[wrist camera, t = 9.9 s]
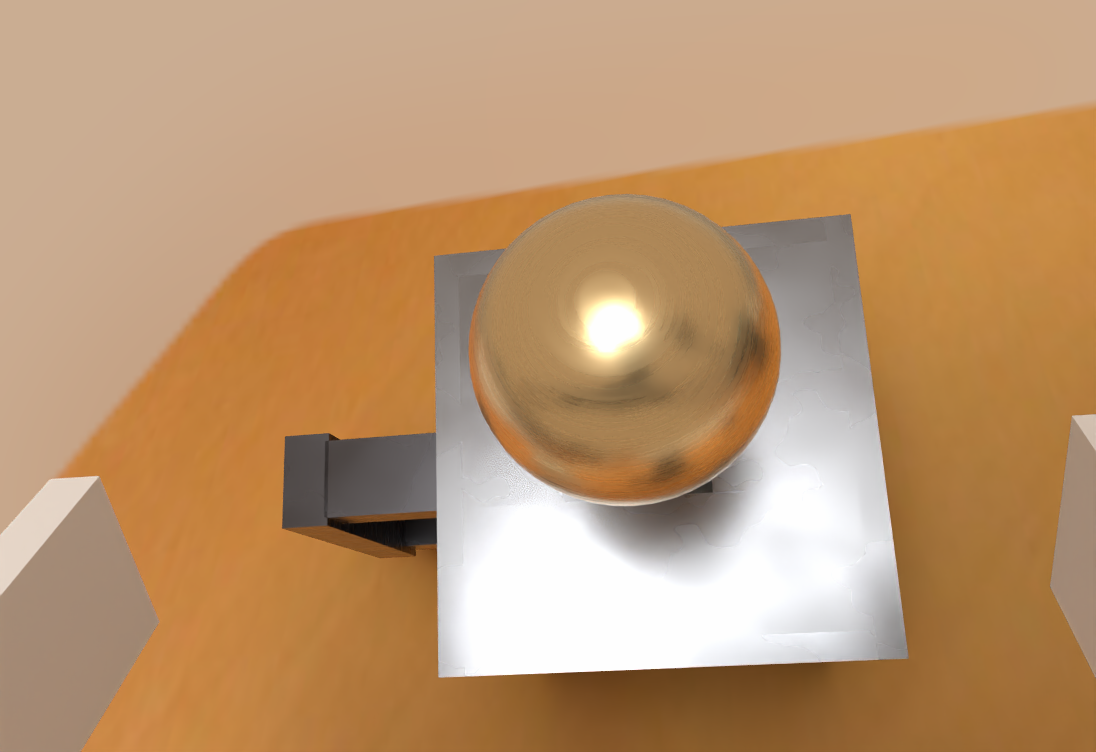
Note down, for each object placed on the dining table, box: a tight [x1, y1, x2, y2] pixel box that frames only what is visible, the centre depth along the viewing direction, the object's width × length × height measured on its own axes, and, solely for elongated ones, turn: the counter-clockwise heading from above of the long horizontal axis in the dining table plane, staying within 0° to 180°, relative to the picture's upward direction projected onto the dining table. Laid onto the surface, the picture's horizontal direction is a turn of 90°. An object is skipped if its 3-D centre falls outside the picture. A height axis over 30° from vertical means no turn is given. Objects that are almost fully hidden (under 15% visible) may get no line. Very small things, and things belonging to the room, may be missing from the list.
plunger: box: [468, 194, 781, 506], centre depth 25 cm, size 8×8×22 cm
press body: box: [282, 214, 908, 677], centre depth 30 cm, size 15×10×14 cm
